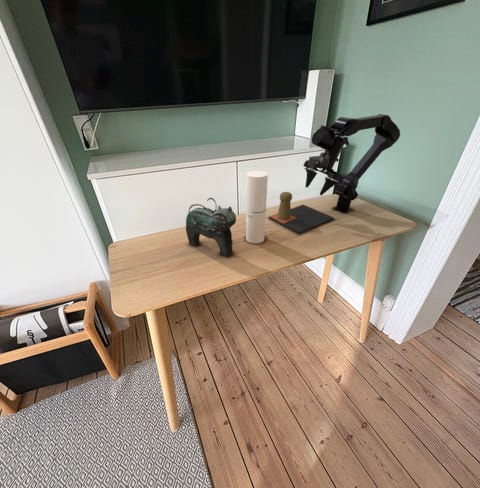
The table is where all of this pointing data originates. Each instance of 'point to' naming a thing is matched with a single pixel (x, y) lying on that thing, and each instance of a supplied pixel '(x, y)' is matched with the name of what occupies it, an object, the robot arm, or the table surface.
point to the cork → (285, 206)
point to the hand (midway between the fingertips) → (313, 191)
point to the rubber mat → (303, 219)
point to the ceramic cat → (211, 226)
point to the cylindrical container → (256, 205)
